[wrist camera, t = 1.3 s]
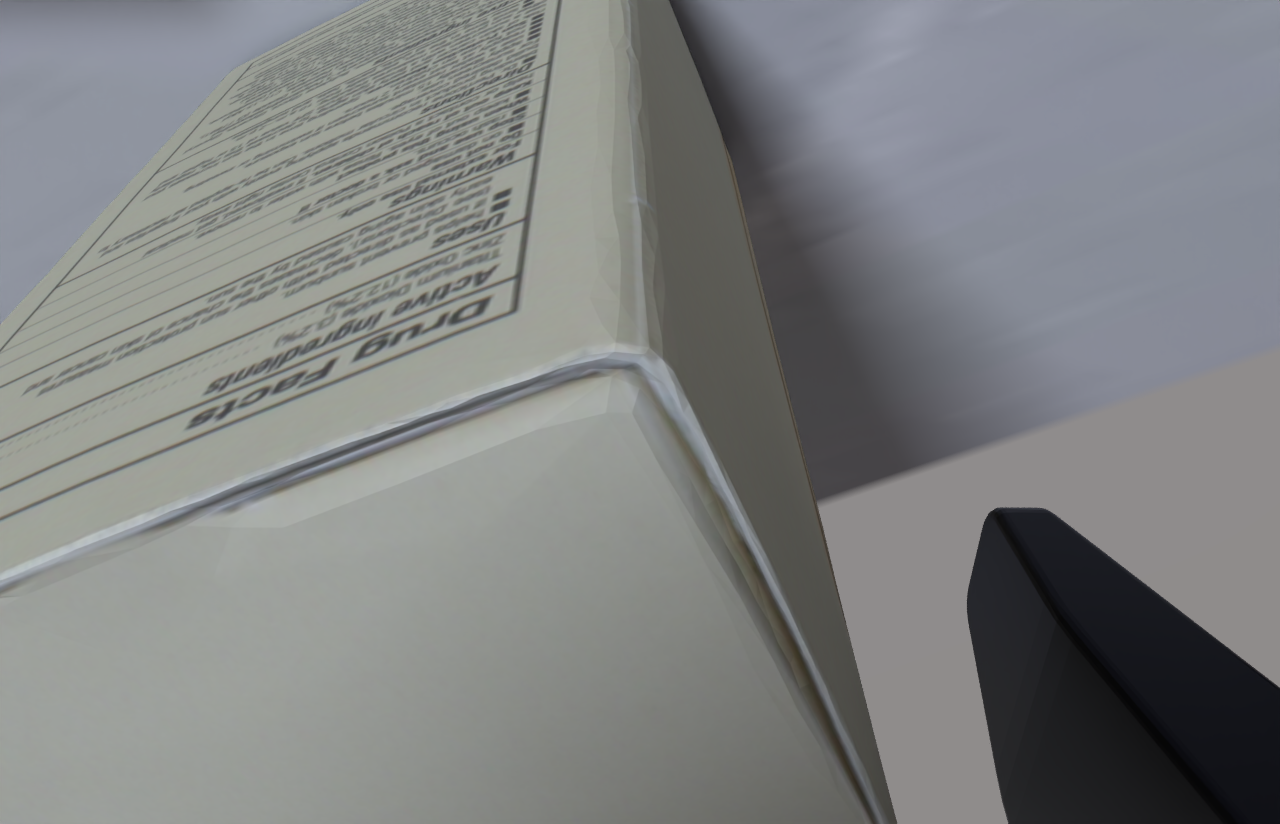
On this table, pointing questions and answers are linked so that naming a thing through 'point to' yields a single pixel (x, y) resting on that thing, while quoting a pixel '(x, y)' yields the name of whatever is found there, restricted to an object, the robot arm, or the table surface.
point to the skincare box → (422, 458)
